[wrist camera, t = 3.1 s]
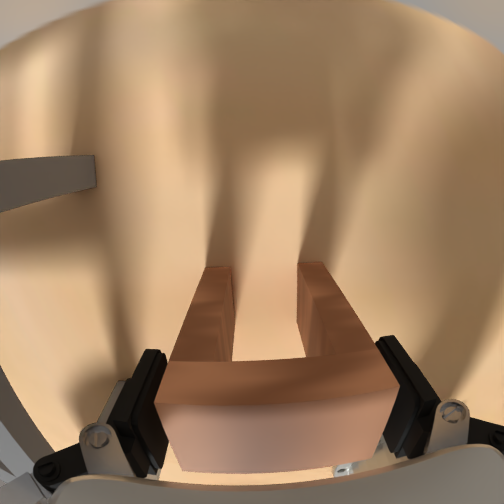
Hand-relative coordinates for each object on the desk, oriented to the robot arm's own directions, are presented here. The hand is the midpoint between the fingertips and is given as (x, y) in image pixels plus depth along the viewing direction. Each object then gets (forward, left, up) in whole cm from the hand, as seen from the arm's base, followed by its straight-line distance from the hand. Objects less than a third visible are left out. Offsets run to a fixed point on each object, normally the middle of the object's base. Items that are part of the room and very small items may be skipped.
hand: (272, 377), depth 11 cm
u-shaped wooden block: (0, 0, -8) cm, 8 cm away
